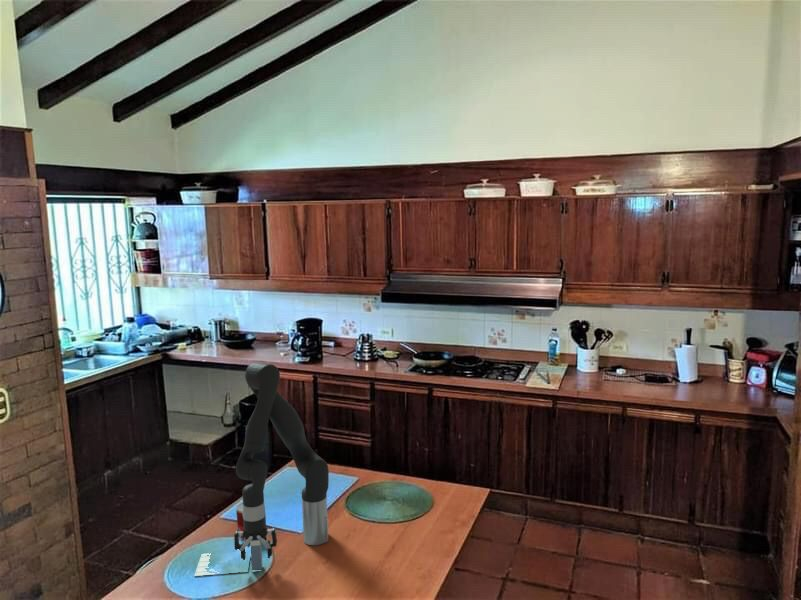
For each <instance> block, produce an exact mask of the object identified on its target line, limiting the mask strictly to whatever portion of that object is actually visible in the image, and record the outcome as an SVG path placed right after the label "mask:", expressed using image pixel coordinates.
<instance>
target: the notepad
mask: <svg viewBox="0 0 801 600" xmlns="http://www.w3.org/2000/svg"><path fill="white" fill-rule="evenodd" d="M211 553H212V552H210V554H209V552H207V553H201V555H200V558H199V560H198V563H197V567H196V570H195V573H194V576H193V577H194V578H196V577H195V576H201V577H204V576H203V575H213V576H215V575H214V574H215V573H209V572H207V570H206V569H205V568H209V567H208V564H209V563H210V562H209V559H210V555H211ZM207 555H209V556H207ZM209 571H212V572H217V571H215V570H214V569H210V570H209ZM217 573H219V572H217Z"/></svg>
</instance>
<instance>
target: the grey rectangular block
mask: <svg viewBox="0 0 801 600" xmlns="http://www.w3.org/2000/svg"><path fill="white" fill-rule="evenodd" d="M249 546H251V561H250V562H251V571H252V570H262V571H263V567H262V565H263V552H262V551H263V550H262V542H260V540H258V539H254V540H251V541H250V543H249ZM263 566H264V565H263Z"/></svg>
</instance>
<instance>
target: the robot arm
mask: <svg viewBox="0 0 801 600" xmlns="http://www.w3.org/2000/svg"><path fill="white" fill-rule="evenodd" d="M244 377H245V381H246V384H247V385H248V387H249V388H250V390H251V391H252V392H253V394H254V395H255V397H256V398H257V401H256V405H255V408H254V410H253V412H252V414H251V416H250V418H249V419H248V422H247V425H246V429H245V437H244V443H243V447H242V450H241V452H240V455H239V458H238V460H237V462H236V465H235V472H236V473H235V474H236V476H237V477H238V478H239V479H241V480H245V481H250V482H252V483H249V484H246V485H245V486H244V487H243V488H242V491H241V492H242V496H241V497H242V503H243V514H242V515H243V525H244V531H238V529H237V530H236V529H235V532H234V537H233V538H234V539H233V540H234V541H233V542H234V544H233V545H234V551H236V550H237V549H239V550H240V551H241V559H243V560H245V559H246V552H245V547H246V546H249V545H250V541H251V540H254V539H258V540H260V542H261V544H262V545H263V546H265V547H266V548H267V549H266V550H267V553H266V554H267V559H270V558H271V557H272V556H273V547H274V548H275V547H277V544H278V543H277V542H278V537H277V530H276V529H277V528H276V526H273V527H272V528H267V519H266V517H267V516H266V505H265V497H264V496H265V493H264V490H265V485H266V480H267V477H268V467H267V464H266V463H265V461H262V460H259V459H255V458H253V457H254V455H255V454H259V453H263V452H264V451H265V449H266V442H267V436H268V435H267V433H268V428H269V422H271V423H272V426H273V427H274V429H275V431H276V433H277V434H278V436H279V437H280V440H282V442H283V444H284V445H285V447H286V448H287V449H288V450H289V453H290V454H291V456H292V459H293V461H294V464H295V466H296V468H297V471H298V473H299V474H300V475H301V477H303V478H304V479H305V486H304V487H303V488H302V490H301V510H302V512H301V513H302V530H303V531H302V536H303V542H304V544H306V545H308V546H309V545H310V546H319V545H320V546H321V545H323V544H325V543H329V523H328V521H329V519H328V498H327V497H328V490H329V481H330V479H329V466H328V463H327V461H326V460H325V459H324V458H322V457H321V456H319V455H318V454H317V453H316V452H315V451H314V449H312V448H313V447H311V445H310V443H309V442H308V441H307V437H306V433H305V428H304V423H303V422H302V420H301V418H300V416H299V414H298V413H297V411H296V409H295V407H293V406H292V405H291V404H290V402H289V401H288V400H286V399H285V398H284V397H283V396H282V395H281V394H280V393H279V392H278V389H279V384H280V379H281V374H280V370H279V369H278V367H277V366H276V365H274V364H271V363H264V362H253V363H250V364H249V365H248V366H247V368H246V369H245V373H244ZM268 534H269V536H270V537H271V539H272V540H270V539H269V537H268V536H267V535H268ZM242 535H243V537H244V538H243V537H241V536H242ZM241 538H243V539H244V540H243V542H242V543H240V539H241Z"/></svg>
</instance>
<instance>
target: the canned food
mask: <svg viewBox="0 0 801 600" xmlns="http://www.w3.org/2000/svg"><path fill="white" fill-rule="evenodd" d="M235 511H236V527H237V530H238V531H244V525H243V515H242V514H243V502H242V503H241V502H240V503H239V504H238V505H237V506H236V509H235ZM241 538H243V539H245V538H244V537H243V535H242V536H241Z"/></svg>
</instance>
